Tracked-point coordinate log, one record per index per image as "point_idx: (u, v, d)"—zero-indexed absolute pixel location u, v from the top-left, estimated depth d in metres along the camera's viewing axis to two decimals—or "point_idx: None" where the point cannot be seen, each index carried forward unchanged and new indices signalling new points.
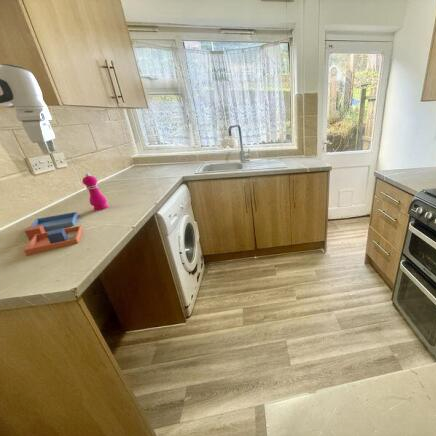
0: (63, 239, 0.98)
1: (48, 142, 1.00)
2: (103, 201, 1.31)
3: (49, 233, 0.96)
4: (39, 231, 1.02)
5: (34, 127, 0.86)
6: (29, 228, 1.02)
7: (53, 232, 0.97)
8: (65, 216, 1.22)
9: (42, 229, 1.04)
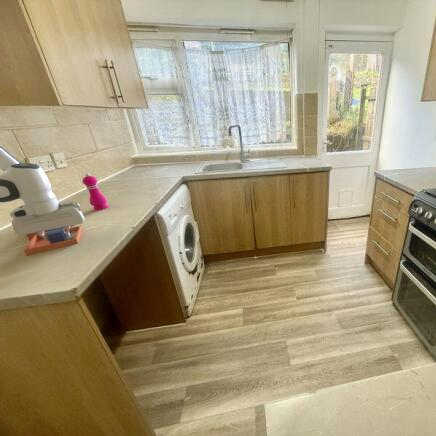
0: (63, 239, 0.98)
1: None
2: (103, 201, 1.31)
3: (49, 233, 0.96)
4: None
5: None
6: None
7: (53, 232, 0.97)
8: None
9: None
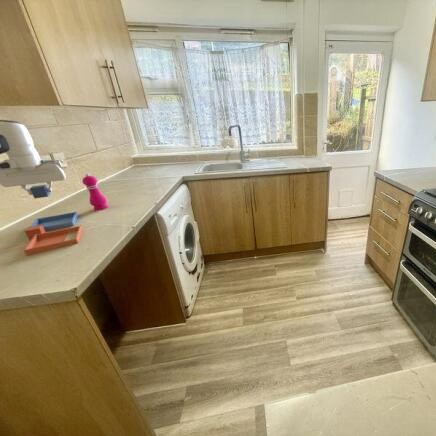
0: (45, 194, 1.06)
1: None
2: (103, 201, 1.31)
3: (32, 187, 1.04)
4: (39, 231, 1.02)
5: None
6: (29, 228, 1.02)
7: (36, 187, 1.05)
8: (65, 216, 1.22)
9: (42, 229, 1.04)
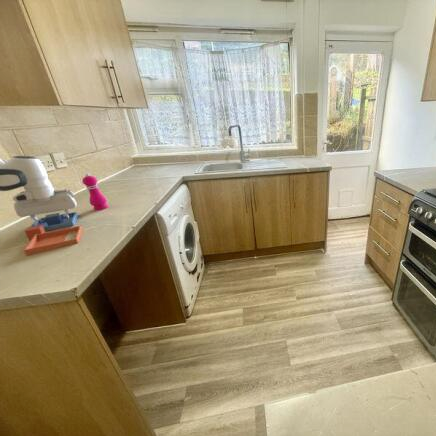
0: (59, 222, 1.14)
1: None
2: (103, 201, 1.31)
3: (47, 216, 1.12)
4: (39, 231, 1.02)
5: None
6: (29, 228, 1.02)
7: (50, 216, 1.13)
8: None
9: (42, 229, 1.04)
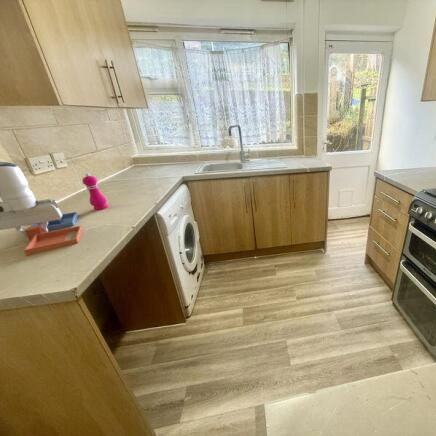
0: (59, 222, 1.14)
1: None
2: (103, 201, 1.31)
3: None
4: (39, 231, 1.02)
5: None
6: (29, 228, 1.02)
7: None
8: (65, 216, 1.22)
9: None
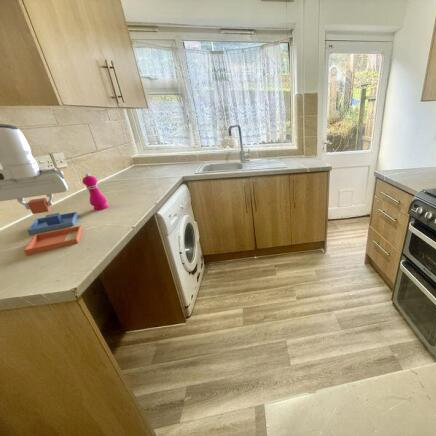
0: (59, 222, 1.14)
1: None
2: (103, 201, 1.31)
3: (47, 216, 1.12)
4: (43, 204, 0.92)
5: None
6: (32, 200, 0.92)
7: (50, 216, 1.13)
8: (65, 216, 1.22)
9: None
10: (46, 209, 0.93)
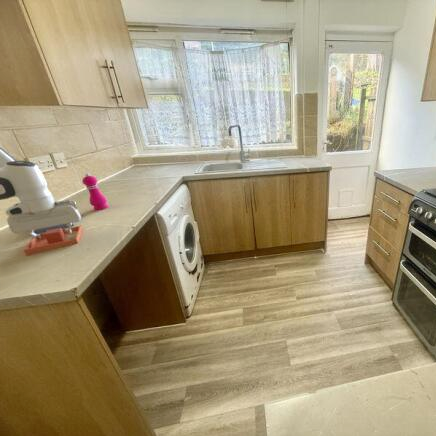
0: None
1: None
2: (103, 201, 1.31)
3: None
4: (59, 235, 0.97)
5: None
6: (48, 232, 0.97)
7: None
8: None
9: (61, 232, 1.00)
10: (61, 239, 0.98)
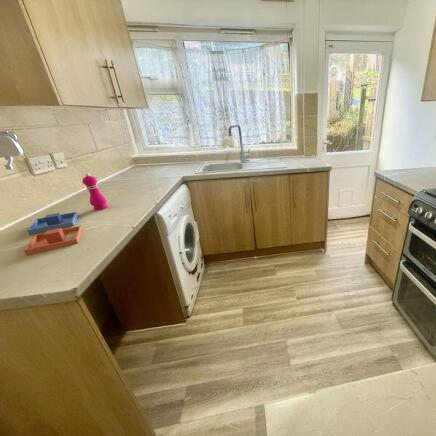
0: (59, 222, 1.14)
1: None
2: (103, 201, 1.31)
3: (47, 216, 1.12)
4: (59, 235, 0.97)
5: None
6: (48, 232, 0.97)
7: (50, 216, 1.13)
8: (65, 216, 1.22)
9: (61, 232, 1.00)
10: (61, 239, 0.98)
